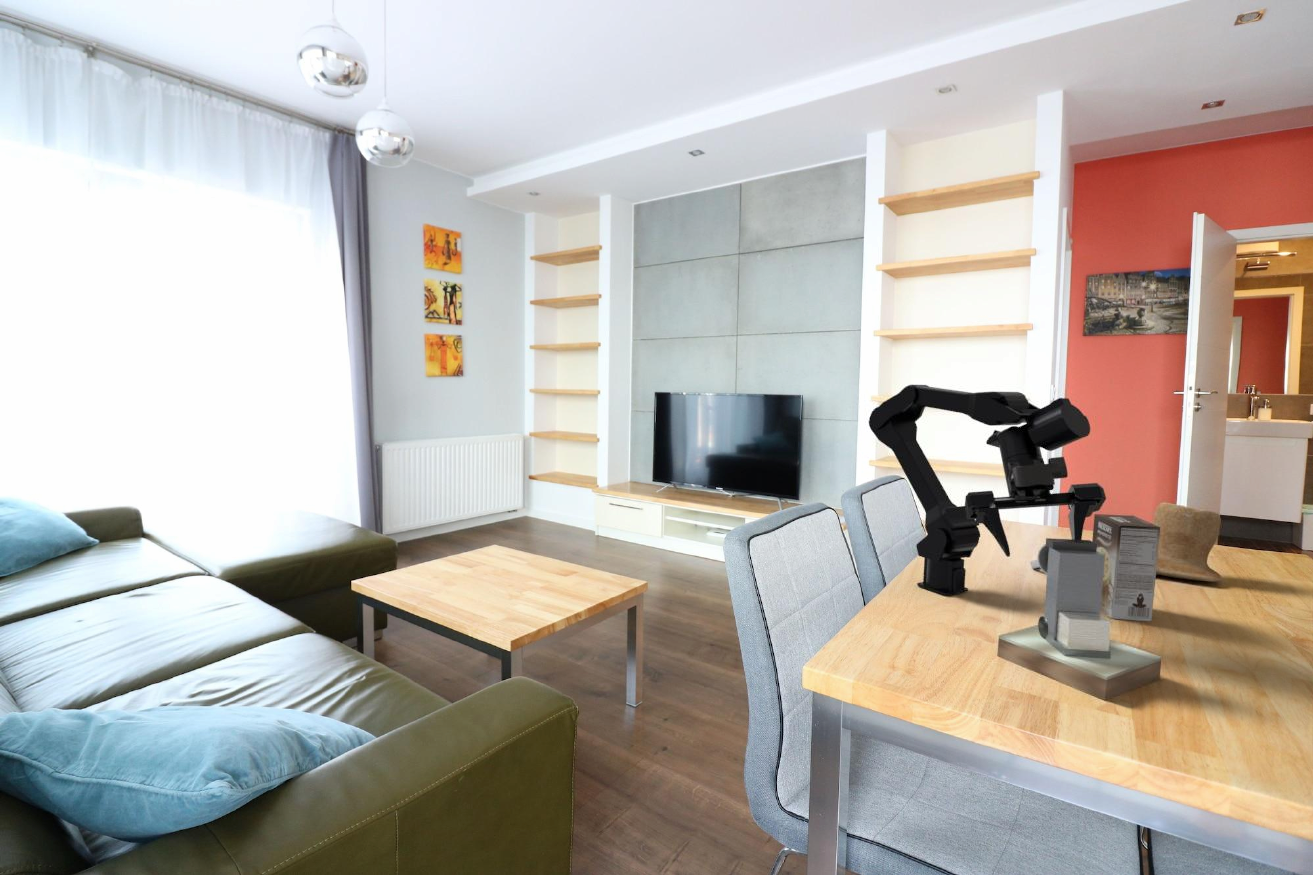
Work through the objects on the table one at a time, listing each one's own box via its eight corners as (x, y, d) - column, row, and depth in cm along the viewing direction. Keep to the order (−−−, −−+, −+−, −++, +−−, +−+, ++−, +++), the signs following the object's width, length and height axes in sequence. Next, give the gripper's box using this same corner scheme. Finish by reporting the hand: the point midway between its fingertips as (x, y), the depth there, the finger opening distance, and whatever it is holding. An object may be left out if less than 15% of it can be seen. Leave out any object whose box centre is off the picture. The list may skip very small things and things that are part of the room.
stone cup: (1219, 576, 130) (1226, 504, 129) (1221, 590, 121) (1228, 513, 120) (1128, 561, 140) (1133, 495, 139) (1123, 573, 131) (1129, 502, 130)
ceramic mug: (1097, 578, 127) (1099, 541, 127) (1075, 584, 123) (1077, 545, 123) (1043, 566, 136) (1044, 530, 136) (1021, 571, 132) (1022, 534, 132)
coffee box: (1085, 600, 114) (1092, 512, 112) (1125, 603, 113) (1132, 515, 111) (1110, 619, 105) (1118, 524, 103) (1154, 622, 104) (1163, 526, 102)
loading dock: (997, 655, 90) (998, 635, 90) (1052, 639, 96) (1053, 620, 96) (1104, 700, 77) (1106, 676, 77) (1159, 678, 83) (1161, 657, 83)
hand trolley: (1037, 633, 90) (1044, 537, 89) (1079, 636, 90) (1087, 539, 89) (1064, 655, 83) (1072, 551, 82) (1110, 658, 82) (1119, 553, 81)
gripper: (961, 446, 100) (977, 541, 93) (1100, 432, 93) (1129, 534, 86) (959, 474, 109) (973, 562, 102) (1085, 463, 102) (1110, 557, 95)
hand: (1042, 554), depth 96 cm, fingers open, 9 cm apart
